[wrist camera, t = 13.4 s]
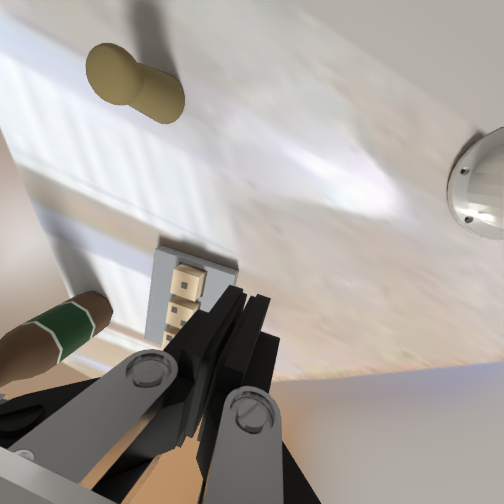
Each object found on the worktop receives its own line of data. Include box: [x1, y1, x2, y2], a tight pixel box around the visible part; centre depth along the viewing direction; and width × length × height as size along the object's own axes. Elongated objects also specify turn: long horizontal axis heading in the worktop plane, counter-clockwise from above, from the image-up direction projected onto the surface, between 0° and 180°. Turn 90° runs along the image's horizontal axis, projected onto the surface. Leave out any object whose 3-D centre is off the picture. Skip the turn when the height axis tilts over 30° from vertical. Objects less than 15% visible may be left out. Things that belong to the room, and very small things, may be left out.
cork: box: [86, 43, 185, 124], centre depth 30 cm, size 6×6×11 cm
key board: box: [144, 246, 239, 345], centre depth 43 cm, size 13×17×2 cm
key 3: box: [161, 325, 180, 351], centre depth 43 cm, size 4×4×4 cm
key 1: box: [170, 263, 208, 302], centre depth 39 cm, size 4×4×4 cm
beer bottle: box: [0, 291, 113, 387], centre depth 37 cm, size 8×8×24 cm
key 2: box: [166, 295, 201, 329], centre depth 41 cm, size 4×4×4 cm
